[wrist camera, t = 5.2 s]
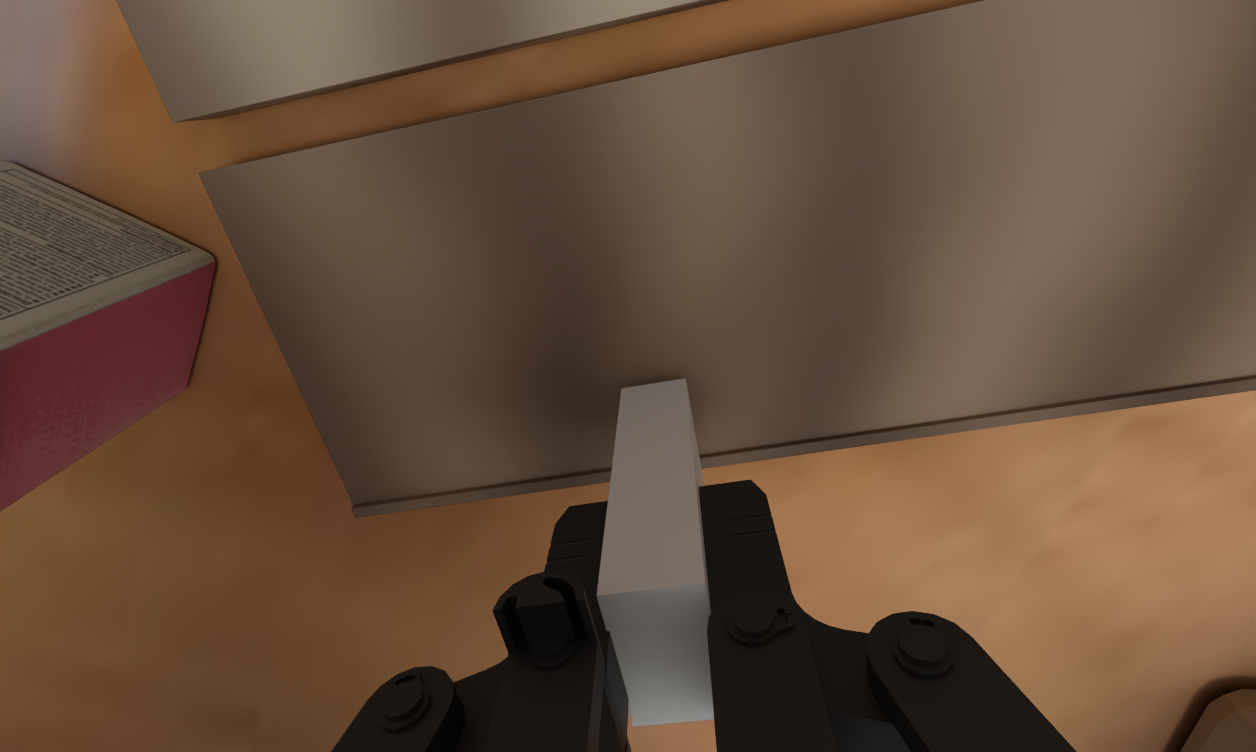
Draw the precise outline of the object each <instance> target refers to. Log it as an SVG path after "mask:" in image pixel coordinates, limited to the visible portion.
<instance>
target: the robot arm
mask: <svg viewBox="0 0 1256 752" xmlns="http://www.w3.org/2000/svg"><path fill="white" fill-rule="evenodd" d="M493 613H494V616H495V618H496V621H497V624H498V626H499V629H500V632H501V634H502V637H503V640H504V642H505V645H506V647H507V650H508V657H507V658H506V659H505V660H503V661H502V662H500V663H499V664H497V665H495V666H493V667H491V668H489V669H487V670H484V671H482V672H479V673H477V674H474V675H471V676H469V677H466V678H464V679H461V680H459V681H456V682H454V683H453V681H452V680H451V678H450V677H449V676H448V675H447V673H446V672H445V671H444V670H441V669H438V668H435V667H433V666H428V667H415V668H413V669H410V670H407V671H405V672H402V673H400V674H397V675H396V676H394V677H393V678H391V679H390V680H389V681H387V682H386V683H384V684H383V685H381V686H380V687H379V688H378V689H377V691H376V692H375V693H374V694H373V695H372V696H371V697H370V698H369V699H368V700H367V702H366V703H365V705H364V706H363V707H362V709H361V710H360V712H359V713H358V714H357V716H356V717H355V719H354V720H353V722H352V723H351V724H350V726H349V727H348V729H347V730H346V731H345V733H344V734H343V736H342V737H341V739H340V740H339V741H338V743H337V744H336V746H335V747H334V749H333V750H332V751H331V752H631V748H630V744H629V741H628V738H627V722H628V709H629V712H630V716H631V719H632V723H633V726H634V727H637V726H648V725H659V724H670V723H681V722H692V721H702V720H713V719H714V722H715V734H716V746H717V752H1076V751H1075V749H1074V748H1073V747H1072V746H1071V745H1070V744H1069V743H1068V742H1067V741H1066V740H1065V739H1064V737H1063V736H1062V735H1061V734H1060V733H1059V732H1058V731H1057V730H1056V729H1055V728H1054V726H1053V725H1052V724H1051V723H1050V722H1049V721H1048V720H1047V719H1046V718H1045V717H1044V716H1043V714H1042V713H1041V712H1040V711H1039V710H1038V709H1037V708H1036V707H1035V706H1034V705H1033V703H1032V702H1031V701H1030V700H1029V699H1028V698H1027V697H1026V696H1025V695H1024V694H1023V692H1022V691H1021V690H1020V689H1019V688H1018V687H1017V686H1016V685H1015V684H1014V683H1013V682H1012V680H1011V679H1010V678H1009V677H1008V676H1007V675H1006V674H1005V673H1004V672H1003V671H1002V669H1001V668H1000V667H999V666H998V665H997V664H996V663H995V662H994V661H993V660H992V658H991V657H990V656H989V655H988V654H987V653H986V652H985V651H984V650H983V649H982V648H981V646H980V645H979V644H978V643H977V642H976V641H975V640H974V639H973V638H972V637H971V636H970V635H969V634H968V633H966V632H965V631H964V630H963V629H961V628H960V627H959V626H958V625H956V624H955V623H953V622H951V621H949V620H946V619H944V618H942V617H939V616H937V615H934V614H929V613H922V612H915V611H909V612H902V613H895V614H891V615H889V616H887V617H886V618H884V619H882V620H880V621H878V622H877V623H876V624H875V625H874V627H873V628H872V630H871V631H870V632H869V633H863V632H856V631H850V630H844V629H840V628H836V627H832V626H828V625H826V624H824V623H822V622H819V621H817V620H815V619H814V618H812V617H811V616H810V615H808V614H807V613H806V612H804V611H803V610H802V608H801V607H800V606H799V605H798V604H797V602H796V601H795V599H794V596H793V594H792V592H791V588H790V584H789V580H788V576H787V573H786V569H785V565H784V561H783V557H782V554H781V550H780V546H779V542H778V538H777V534H776V532H775V527H774V523H773V519H772V516H771V512H770V508H769V504H768V500H767V496H766V494H765V493H764V492H763V491H762V490H761V489H760V488H759V487H758V486H757V485H756V484H755V483H754V482H753V481H752V480H745V481H738V482H730V483H723V484H716V485H708V486H704V482H703V474H702V468H701V463H700V457H699V451H698V446H697V440H696V434H695V428H694V423H693V417H692V411H691V405H690V400H689V394H688V388H687V382H686V378H684V379H678V380H672V381H665V382H659V383H653V384H646V385H640V386H634V387H627V388H621V396H620V404H619V413H618V421H617V429H616V438H615V446H614V455H613V463H612V471H611V480H610V488H609V496H608V501H605V502H597V503H590V504H583V505H575V506H569V507H568V509H567V510H566V511H565V513H564V514H563V515H562V516H561V518H560V519H559V520H558V522H557V523H556V524H555V527H554V532H553V536H552V540H551V548H550V549H549V553H548V557H547V564H546V566H545V570H544V572H542V573H538V574H534V575H530V576H528V577H526V578H524V579H522V580H520V581H519V582H517V583H515V584H513V585H512V586H511V587H510V588H509V589H508V590H507V591H506V592H505V593H503V594H502V595H501V596H500V598H499V600H498V601H497V603H496V605H495V607H494V609H493Z"/></svg>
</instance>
